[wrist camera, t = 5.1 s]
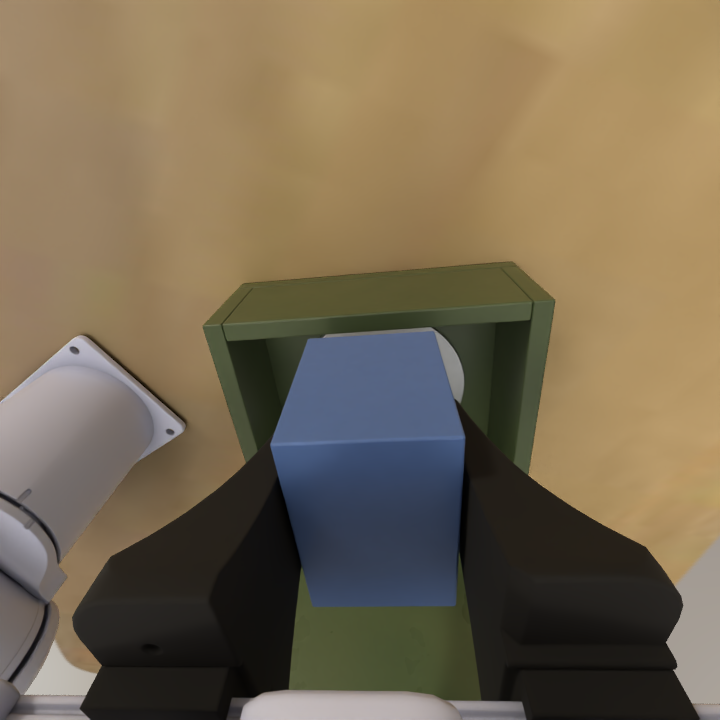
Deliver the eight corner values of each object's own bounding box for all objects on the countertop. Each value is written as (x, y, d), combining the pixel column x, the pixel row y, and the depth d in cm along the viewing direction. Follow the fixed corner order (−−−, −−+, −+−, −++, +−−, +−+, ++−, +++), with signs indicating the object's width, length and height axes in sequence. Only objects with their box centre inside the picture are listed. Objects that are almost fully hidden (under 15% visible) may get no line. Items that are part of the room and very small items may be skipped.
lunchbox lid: (143, 1024, 10) (152, 1021, 10) (709, 1070, 9) (699, 1065, 9) (265, 535, 21) (267, 542, 21) (523, 529, 20) (522, 535, 20)
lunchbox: (242, 283, 20) (201, 325, 15) (513, 261, 19) (556, 299, 14) (287, 464, 26) (268, 533, 22) (494, 455, 25) (520, 526, 20)
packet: (307, 337, 12) (268, 444, 8) (434, 330, 12) (466, 436, 8) (330, 475, 15) (311, 608, 11) (433, 471, 15) (456, 607, 11)
